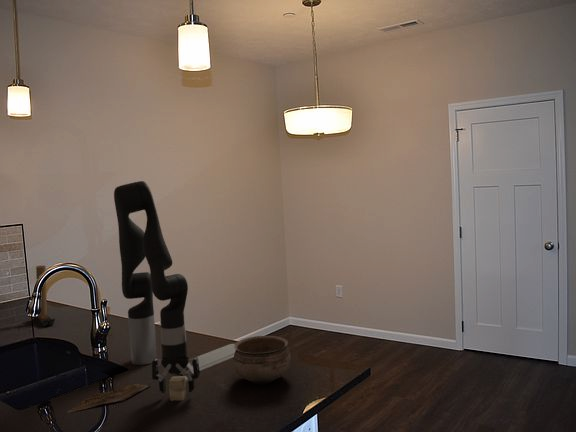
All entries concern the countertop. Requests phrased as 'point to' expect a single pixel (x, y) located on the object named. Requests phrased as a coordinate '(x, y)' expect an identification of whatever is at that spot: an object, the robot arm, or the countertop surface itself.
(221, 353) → the baseboard molding
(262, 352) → the cooking pot
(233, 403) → the countertop surface
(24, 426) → the countertop surface
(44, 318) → the hammer
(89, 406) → the wooden fragment
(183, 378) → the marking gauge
